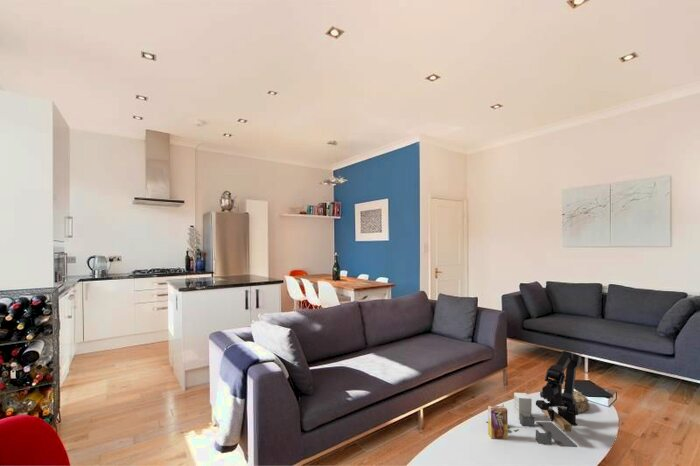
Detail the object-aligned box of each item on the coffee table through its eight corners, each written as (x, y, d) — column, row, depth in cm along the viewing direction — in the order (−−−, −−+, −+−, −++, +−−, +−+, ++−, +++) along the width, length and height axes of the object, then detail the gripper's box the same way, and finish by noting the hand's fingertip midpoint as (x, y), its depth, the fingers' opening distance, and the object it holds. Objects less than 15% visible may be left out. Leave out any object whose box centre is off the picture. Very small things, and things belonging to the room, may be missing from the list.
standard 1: (531, 423, 187) (531, 414, 188) (534, 426, 184) (534, 416, 185) (519, 423, 187) (520, 413, 188) (522, 426, 184) (522, 416, 185)
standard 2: (548, 440, 171) (548, 430, 172) (551, 444, 168) (551, 433, 169) (535, 440, 172) (535, 429, 172) (538, 443, 168) (538, 433, 169)
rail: (547, 411, 188) (547, 405, 188) (571, 431, 168) (571, 424, 168) (541, 411, 188) (541, 405, 188) (564, 431, 168) (564, 424, 168)
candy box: (504, 434, 176) (504, 405, 177) (507, 439, 172) (508, 409, 172) (487, 433, 176) (487, 405, 177) (491, 438, 172) (491, 409, 172)
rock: (575, 418, 196) (570, 400, 198) (553, 412, 209) (548, 395, 211) (596, 408, 204) (591, 391, 206) (574, 403, 217) (569, 387, 219)
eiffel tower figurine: (484, 422, 188) (485, 399, 189) (495, 418, 194) (495, 395, 194) (509, 436, 176) (509, 411, 176) (520, 431, 181) (520, 406, 181)
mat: (551, 422, 189) (551, 422, 189) (577, 446, 167) (577, 446, 167) (535, 422, 189) (535, 421, 189) (559, 446, 167) (559, 445, 167)
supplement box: (526, 413, 198) (526, 392, 199) (531, 420, 191) (531, 398, 191) (513, 413, 199) (513, 392, 199) (518, 419, 192) (518, 397, 192)
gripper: (563, 386, 186) (563, 413, 186) (530, 385, 187) (530, 412, 186) (576, 395, 175) (576, 424, 175) (541, 394, 175) (541, 423, 175)
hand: (555, 421), depth 178 cm, fingers closed on rail, 3 cm apart
